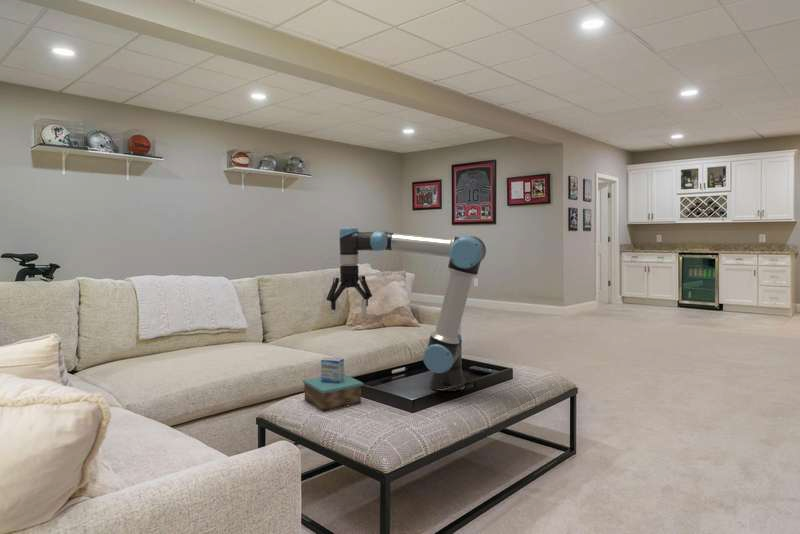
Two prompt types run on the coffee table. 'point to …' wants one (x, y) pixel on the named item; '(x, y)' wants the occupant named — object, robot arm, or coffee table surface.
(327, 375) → the medicine box
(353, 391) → the crate
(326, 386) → the lid
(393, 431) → the coffee table surface
